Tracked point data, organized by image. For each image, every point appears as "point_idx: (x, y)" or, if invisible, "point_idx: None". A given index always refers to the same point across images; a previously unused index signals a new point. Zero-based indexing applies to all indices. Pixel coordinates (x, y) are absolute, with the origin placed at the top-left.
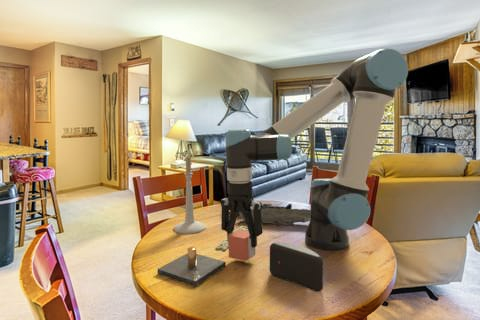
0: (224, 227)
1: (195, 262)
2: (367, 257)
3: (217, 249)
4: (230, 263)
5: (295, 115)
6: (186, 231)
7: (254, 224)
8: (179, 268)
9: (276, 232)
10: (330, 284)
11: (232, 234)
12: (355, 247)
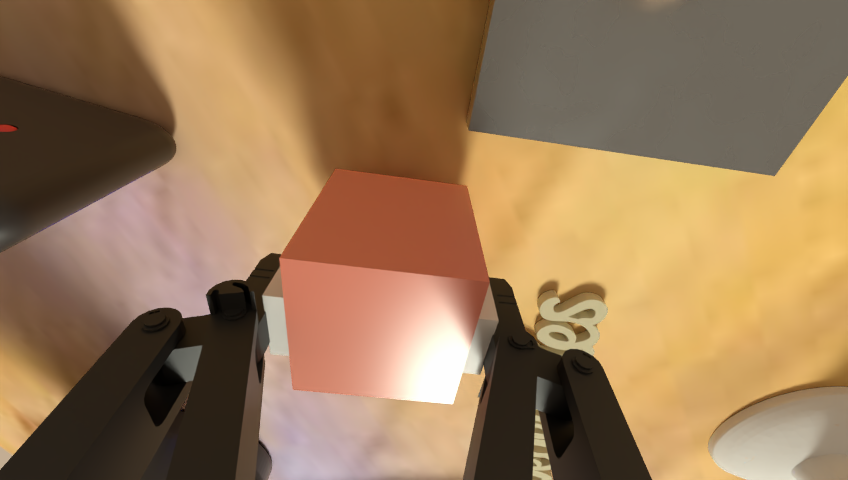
0: (568, 375)
1: None
2: (3, 397)
3: (588, 293)
4: (454, 172)
5: None
6: (818, 402)
7: (97, 431)
8: None
9: (394, 471)
10: None
11: (453, 309)
12: None
